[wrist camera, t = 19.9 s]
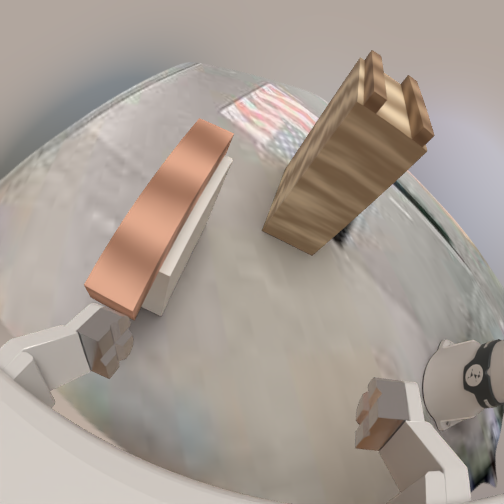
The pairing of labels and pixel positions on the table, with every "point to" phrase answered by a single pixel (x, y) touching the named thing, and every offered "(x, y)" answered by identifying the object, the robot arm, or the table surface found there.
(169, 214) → the bar
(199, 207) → the shelf
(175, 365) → the table surface
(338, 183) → the chute stand
